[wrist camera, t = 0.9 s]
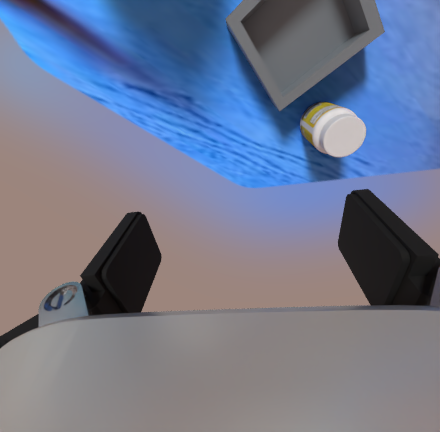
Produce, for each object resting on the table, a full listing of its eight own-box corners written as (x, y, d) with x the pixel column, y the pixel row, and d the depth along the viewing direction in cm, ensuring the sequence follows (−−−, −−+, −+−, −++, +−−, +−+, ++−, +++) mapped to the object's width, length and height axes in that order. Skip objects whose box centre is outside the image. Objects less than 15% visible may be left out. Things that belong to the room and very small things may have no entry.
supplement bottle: (330, 141, 30) (358, 163, 23) (295, 139, 30) (313, 160, 23) (342, 102, 27) (379, 113, 20) (304, 99, 28) (328, 110, 21)
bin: (324, -75, 20) (342, -104, 16) (364, 36, 24) (384, 31, 21) (226, 25, 24) (225, 19, 21) (274, 106, 28) (279, 111, 25)
